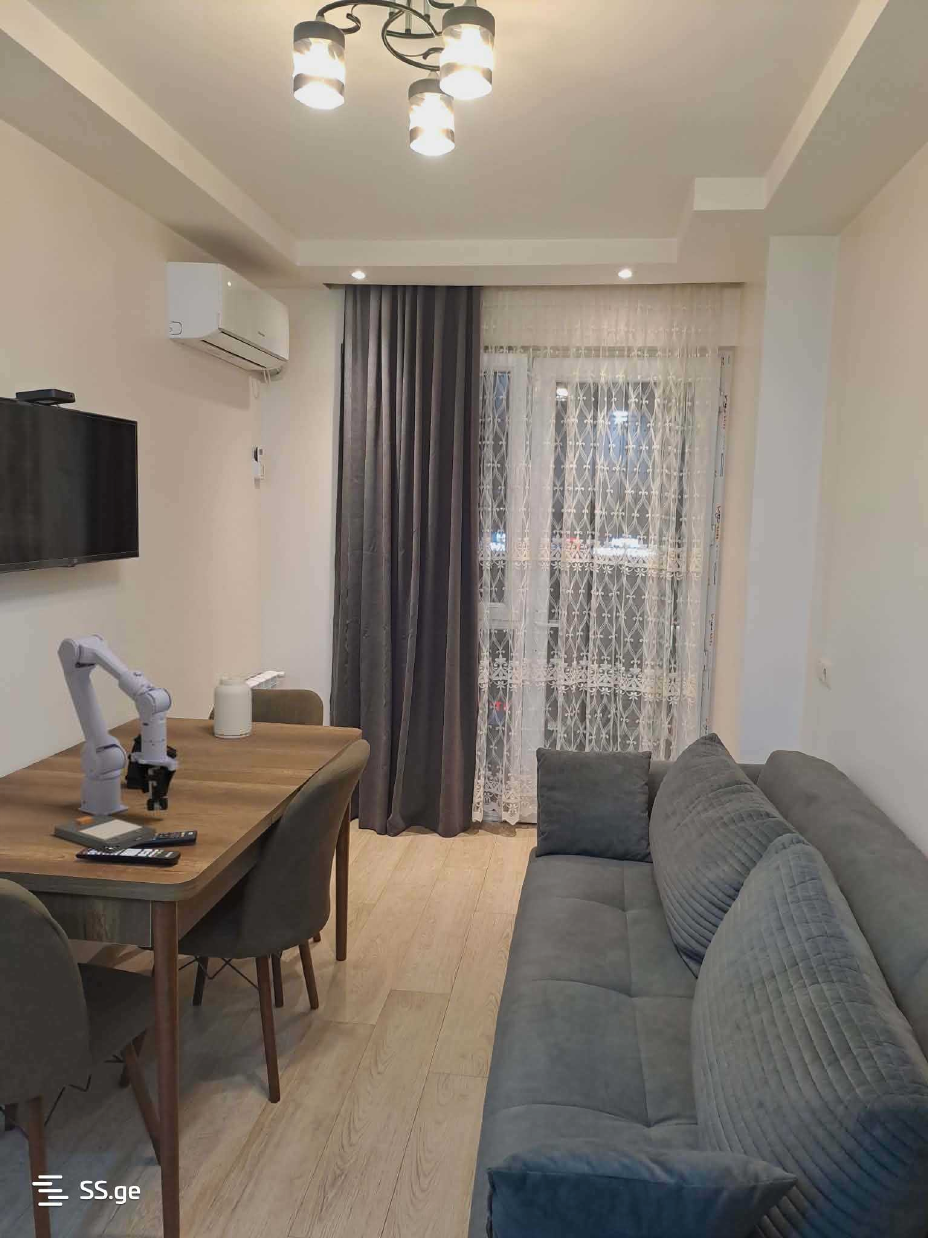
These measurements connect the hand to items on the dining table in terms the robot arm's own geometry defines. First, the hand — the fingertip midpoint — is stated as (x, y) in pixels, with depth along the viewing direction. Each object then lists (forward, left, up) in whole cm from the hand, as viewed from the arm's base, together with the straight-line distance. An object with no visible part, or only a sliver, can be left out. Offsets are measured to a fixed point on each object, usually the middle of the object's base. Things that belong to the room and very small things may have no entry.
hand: (154, 794), depth 214 cm
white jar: (-50, +74, -7) cm, 90 cm away
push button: (0, 0, -4) cm, 4 cm away
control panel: (0, -14, -6) cm, 15 cm away
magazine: (-22, +17, -7) cm, 29 cm away
